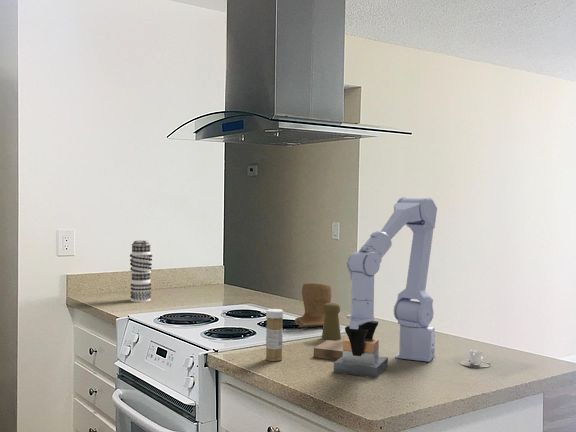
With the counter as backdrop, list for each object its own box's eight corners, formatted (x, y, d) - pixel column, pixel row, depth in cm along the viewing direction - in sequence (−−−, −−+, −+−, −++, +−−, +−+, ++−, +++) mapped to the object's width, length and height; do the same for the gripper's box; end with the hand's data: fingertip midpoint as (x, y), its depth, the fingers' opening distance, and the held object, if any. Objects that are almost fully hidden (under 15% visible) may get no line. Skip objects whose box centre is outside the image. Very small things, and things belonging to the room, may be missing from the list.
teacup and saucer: (471, 359, 172) (472, 345, 172) (498, 366, 166) (498, 350, 166) (453, 365, 166) (453, 349, 166) (480, 371, 160) (480, 355, 160)
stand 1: (363, 352, 177) (364, 343, 177) (352, 361, 167) (352, 352, 167) (327, 348, 181) (327, 340, 181) (313, 357, 171) (313, 348, 171)
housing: (378, 359, 160) (378, 339, 160) (373, 363, 155) (373, 343, 155) (348, 355, 163) (348, 336, 163) (342, 360, 158) (342, 340, 158)
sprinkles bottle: (273, 356, 171) (274, 307, 170) (286, 359, 168) (286, 309, 167) (261, 359, 167) (262, 309, 167) (274, 362, 164) (274, 312, 164)
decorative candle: (144, 302, 257) (145, 241, 256) (125, 301, 259) (125, 241, 259) (156, 299, 265) (156, 240, 265) (136, 298, 268) (137, 239, 267)
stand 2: (387, 367, 162) (388, 357, 162) (376, 377, 152) (376, 367, 152) (347, 362, 166) (347, 352, 166) (333, 372, 156) (333, 362, 156)
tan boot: (323, 321, 223) (323, 279, 223) (341, 327, 213) (342, 283, 212) (286, 324, 216) (286, 281, 215) (303, 331, 205) (304, 285, 205)
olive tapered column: (329, 335, 199) (329, 301, 199) (344, 338, 195) (345, 303, 195) (317, 338, 194) (318, 303, 194) (333, 341, 191) (334, 305, 190)
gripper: (355, 294, 167) (355, 344, 167) (338, 302, 153) (337, 356, 154) (381, 296, 164) (380, 347, 164) (366, 304, 151) (365, 360, 151)
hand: (361, 352), depth 159 cm, fingers open, 7 cm apart
